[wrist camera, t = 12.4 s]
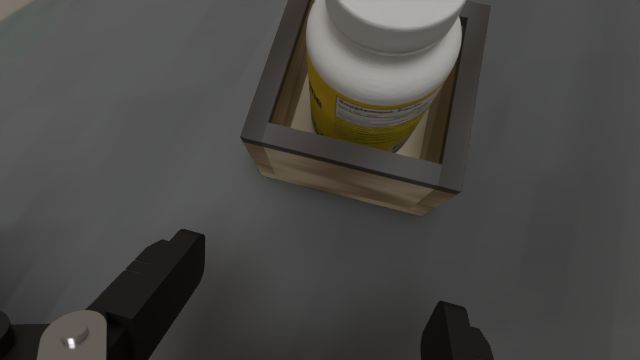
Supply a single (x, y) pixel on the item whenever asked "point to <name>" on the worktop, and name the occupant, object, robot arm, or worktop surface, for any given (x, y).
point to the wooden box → (353, 159)
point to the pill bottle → (378, 66)
